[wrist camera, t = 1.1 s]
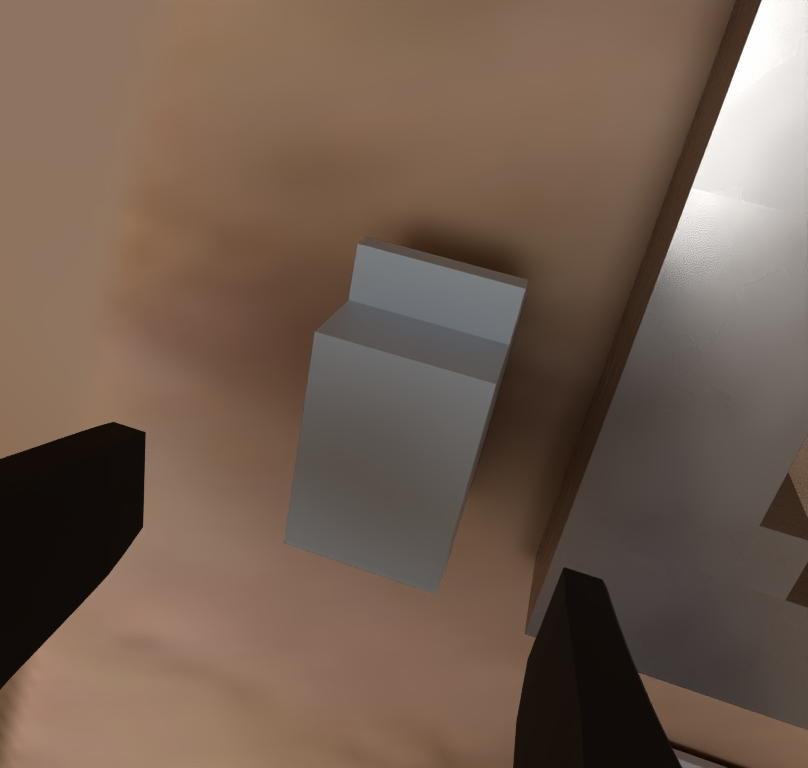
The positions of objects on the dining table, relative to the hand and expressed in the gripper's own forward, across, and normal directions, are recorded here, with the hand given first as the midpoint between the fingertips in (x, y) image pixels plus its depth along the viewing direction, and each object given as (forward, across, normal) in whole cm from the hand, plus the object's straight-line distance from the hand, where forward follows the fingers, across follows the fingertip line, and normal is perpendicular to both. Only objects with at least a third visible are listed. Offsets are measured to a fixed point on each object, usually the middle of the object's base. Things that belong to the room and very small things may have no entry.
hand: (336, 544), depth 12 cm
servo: (+8, 0, 0) cm, 8 cm away
